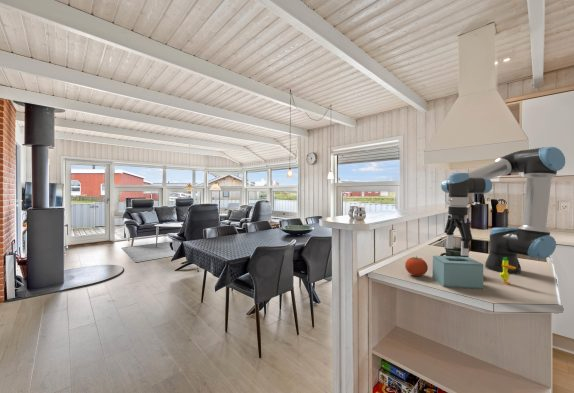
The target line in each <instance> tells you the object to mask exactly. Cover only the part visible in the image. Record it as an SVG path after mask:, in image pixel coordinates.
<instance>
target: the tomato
mask: <svg viewBox="0 0 574 393" xmlns="http://www.w3.org/2000/svg"><path fill="white" fill-rule="evenodd" d="M404 264H405V265H404V267H405V269H406V271H407V273H408V274H411V275H412V276H416V277H420V276H424V275H425V274H427V272H428V270H429V269H428V266H429V265H428V264H427V262H426V261H425V260H424V259H423V258H422V257H419V256H418V257H417V255H416V256H412V257H410V258H409V257H408V258H407V259H406V261H405V263H404Z"/></svg>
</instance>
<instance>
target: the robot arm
mask: <svg viewBox="0 0 574 393" xmlns="http://www.w3.org/2000/svg"><path fill="white" fill-rule="evenodd" d="M565 164H566V157H565V155H564V152H563V151H562V150H561V149H560V148H558V147H557V146H556V147H555V146H547V147H546V146H544V147H543V146H542V147H537V148H531V149H522V150H518V151H514V152H511V153H508V154H506V155H504V156H500V157H499V158H496V159H495V160H494V161H493V162H492V163H489V164H487V165H484V166H482V167H479V168H476V169H474V170H470V171H469V172H453V173H451V174H449V178H446V179H444V180H442V181H441V185H440V187H441V190H442V191H443V193H446V194H448V199H447V201H448V205H449V206H448V212H447V213H448V215H447V221H446V223H445V224H446V225H445V228H444V233H445V234H446V247H447V248H449V249H453V247H454V235H455V231H456V228H457V229H458V231H459V234H460V236H461V239H460V242H461V245H460V248H461V255H462V256H469V254H470V252H469V251H470V250H469V249H470V242H471V241H473V239H474V238H473V235H472V231H471V225H470V220H469V219H470V218H468V217H465V216H468V215H469V208H468V207H467V206H469V194H475V195H476V194H481V195H483V194H488V193H490V192H491V190H492V189H493V181H492V180H491V179H494V178H497V177H500V176H507V175H510V174H518V173H523V176H524V177H525V178H526V186H525V187H526V188H525V196H524V206H523V213H522V214H523V215H522V224H521V226H518V227H492V228H490V231H489V252H488V256H487V258H486V260H485V262H484V267H485V268H486V269H488V270H492V271H494V272H500V273H502V272H503V266H501V265H503V260H504V259H503V258H507V260H508V265H511V266H514V267H516V269H514V270H513V269H509V268H508V271H507V272H508V274H521V273H522V266H521V263H520V261H519V258H518V255H522V256H527V257H530V258H535V259H540V260H542V259H547V258H549V257H550V256H552V254H553V253H554V252H555V250H556V247H557V241H556V239H555V238H554V237H553V236H552V235H551V231H550V230H549V229H548V228H547V224H548V223H547V222H548V215H549V214H548V213H549V204H550V195H551V185H552V179H553V178H555V177H556V176H557V172H559V171H561V170H562V169H563V168H565V166H566V165H565ZM469 257H470V256H469Z"/></svg>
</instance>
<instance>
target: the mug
mask: <svg viewBox="0 0 574 393" xmlns="http://www.w3.org/2000/svg"><path fill="white" fill-rule="evenodd" d="M444 250H445V252H443V253H442V252H441V253H440V254H439V256H454V257H469V258H470V256H462V255H461V247H459V246H458V247H457V246H456V247H454V246H453V249H449V248H447V246H446V247H444ZM469 253H470V250H469Z"/></svg>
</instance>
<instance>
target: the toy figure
mask: <svg viewBox="0 0 574 393" xmlns="http://www.w3.org/2000/svg"><path fill="white" fill-rule="evenodd" d="M503 259H504V260H503V265H501V266H503V272H499V271H498V272H499V275H500V278H501V279H502V280H503V282H502V283H503V284H504V285H510V284H511V283H510V282H509V281H508V280H509V279H510V273H508V272H507V271H508V268H509V269H513V270H514V269H516V267H514V266H511V265H508V260H507V258H503Z"/></svg>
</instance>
